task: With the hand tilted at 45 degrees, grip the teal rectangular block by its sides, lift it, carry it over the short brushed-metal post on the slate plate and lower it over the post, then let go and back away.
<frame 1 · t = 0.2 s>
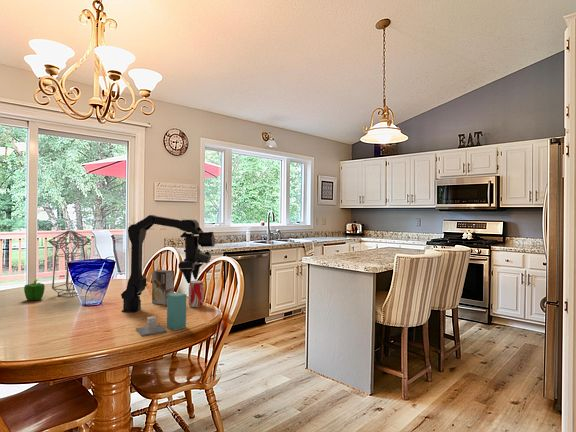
hand: (192, 281, 161), 14 cm above the table, tool pointing down, fingers open, 9 cm apart
post: (151, 323, 135), on the plate, point 3 cm above the table
teal rectangular block: (176, 327, 140), on the table
geometric lantern: (68, 295, 188), on the table
coffee box: (162, 303, 177), on the table
bell pepper: (34, 300, 178), on the table
plate: (151, 330, 135), on the table
soda can: (195, 306, 172), on the table
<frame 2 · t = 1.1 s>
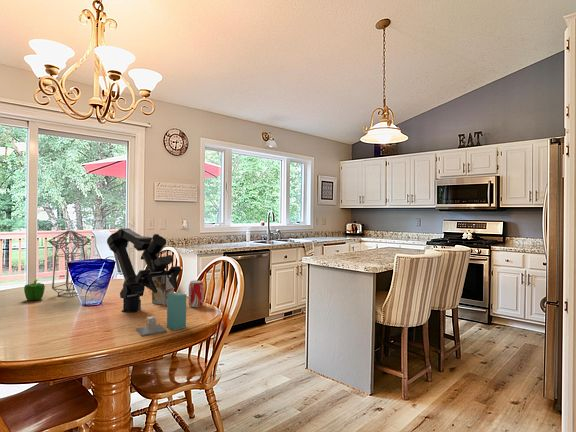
hand: (166, 290, 144), 13 cm above the table, tool tilted 45°, fingers open, 9 cm apart
nothing on the table moved.
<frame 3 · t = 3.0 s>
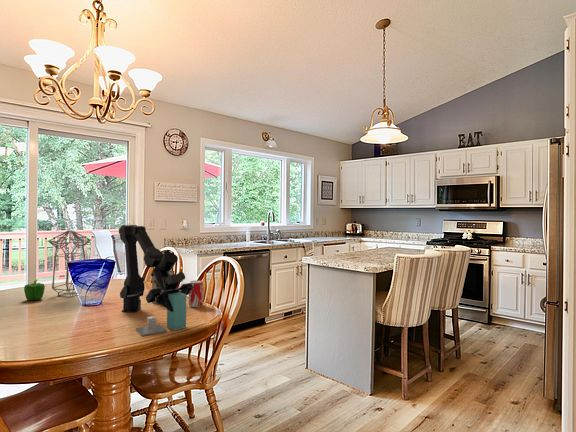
hand: (178, 309, 139), 7 cm above the table, tool tilted 45°, fingers closed on teal rectangular block, 5 cm apart
teal rectangular block: (176, 327, 140), on the table, touching gripper
everything else where it was.
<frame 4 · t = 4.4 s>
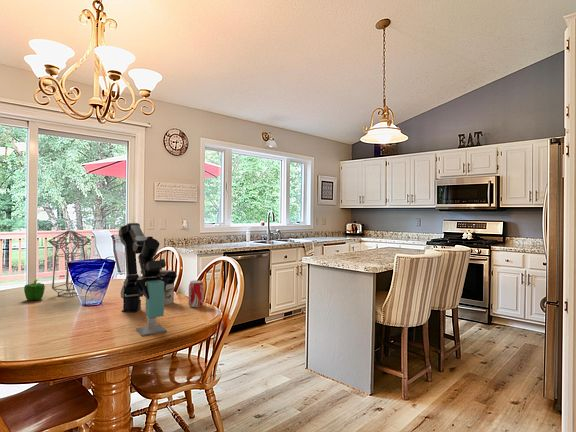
hand: (155, 297, 134), 13 cm above the table, tool tilted 45°, fingers closed on teal rectangular block, 5 cm apart
teal rectangular block: (154, 315, 135), point 6 cm above the table, touching gripper
everything else where it was.
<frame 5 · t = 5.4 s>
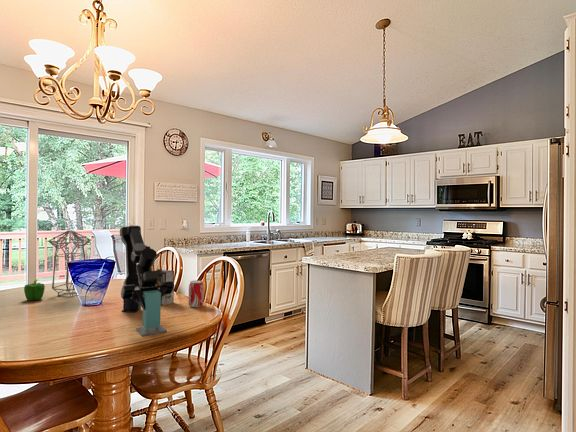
hand: (152, 308, 134), 9 cm above the table, tool tilted 45°, fingers closed on teal rectangular block, 5 cm apart
teal rectangular block: (151, 326, 135), point 2 cm above the table, touching gripper
everything else where it was.
when the fingers open (8 cm above the table, at t = 5.9 s): teal rectangular block stays where it is, resting on plate.
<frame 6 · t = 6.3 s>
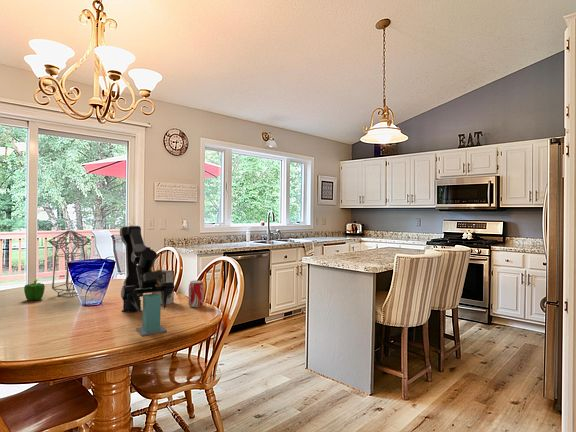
hand: (152, 309, 134), 9 cm above the table, tool tilted 45°, fingers open, 9 cm apart
teal rectangular block: (151, 329, 135), point 1 cm above the table, touching plate
everything else where it was.
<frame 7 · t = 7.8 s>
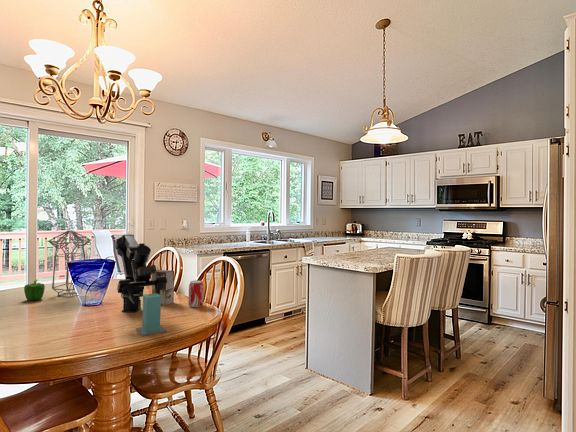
hand: (146, 301, 142), 9 cm above the table, tool tilted 45°, fingers open, 9 cm apart
nothing on the table moved.
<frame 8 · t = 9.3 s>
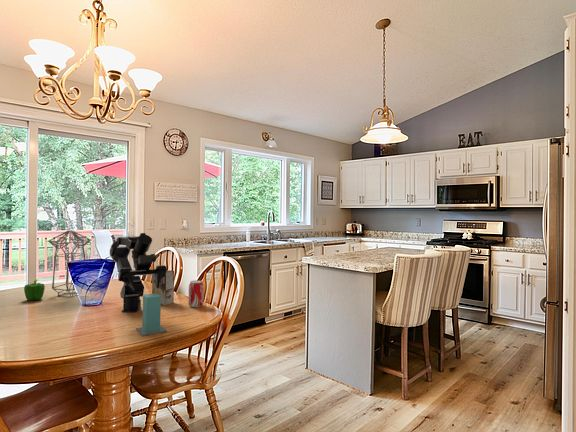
hand: (146, 289, 145), 14 cm above the table, tool tilted 45°, fingers open, 9 cm apart
nothing on the table moved.
at the end: teal rectangular block 0.0 cm from the post (horizontally); teal rectangular block point 0.6 cm above the table; the gripper is holding nothing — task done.
